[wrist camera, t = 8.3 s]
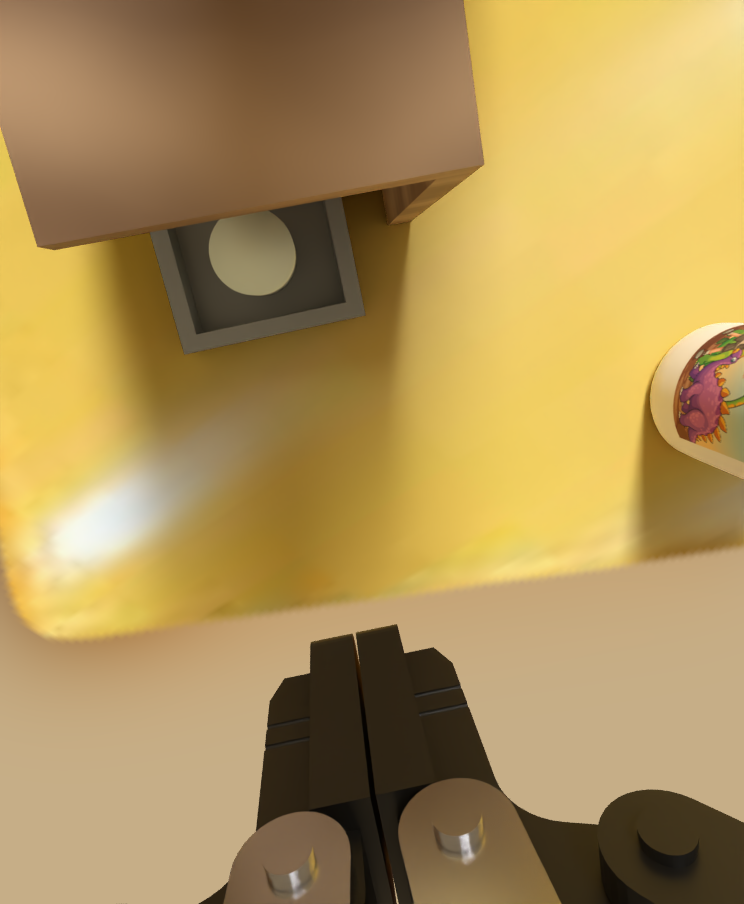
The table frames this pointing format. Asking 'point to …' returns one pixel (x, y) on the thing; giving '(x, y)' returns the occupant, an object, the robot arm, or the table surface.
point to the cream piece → (253, 253)
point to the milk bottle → (704, 396)
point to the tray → (251, 317)
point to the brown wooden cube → (230, 109)
